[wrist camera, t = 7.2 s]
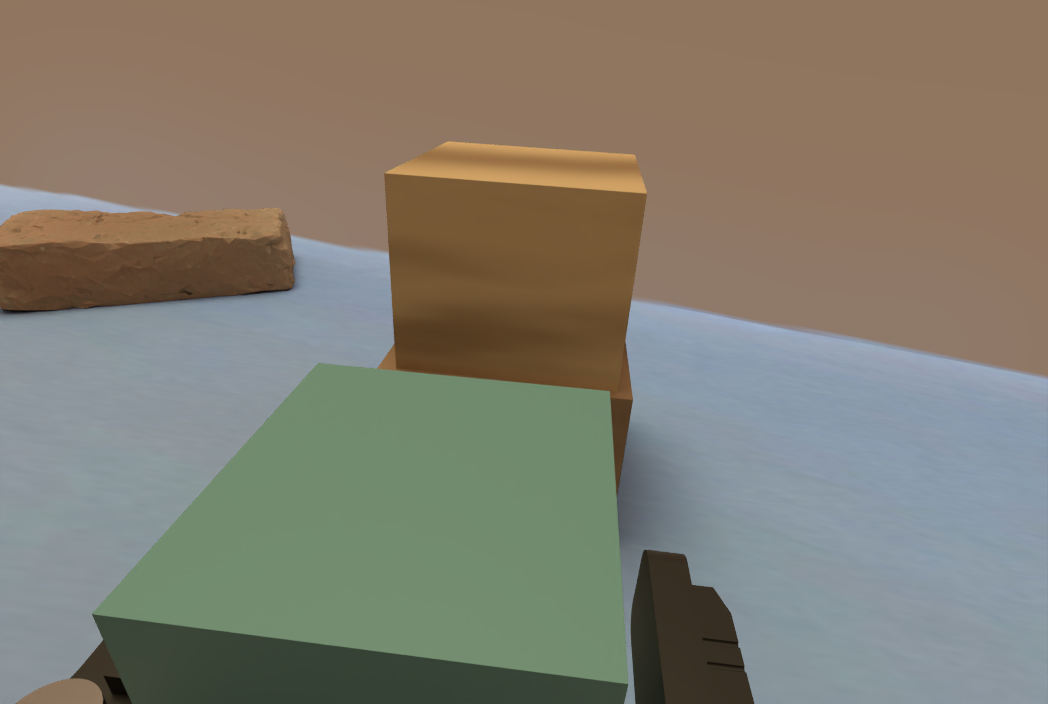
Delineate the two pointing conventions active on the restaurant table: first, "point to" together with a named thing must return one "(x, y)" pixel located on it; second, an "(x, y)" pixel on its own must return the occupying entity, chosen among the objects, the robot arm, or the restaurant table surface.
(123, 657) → the teal pillar
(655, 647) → the robot arm
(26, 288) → the brick
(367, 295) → the restaurant table surface
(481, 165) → the oak top block
